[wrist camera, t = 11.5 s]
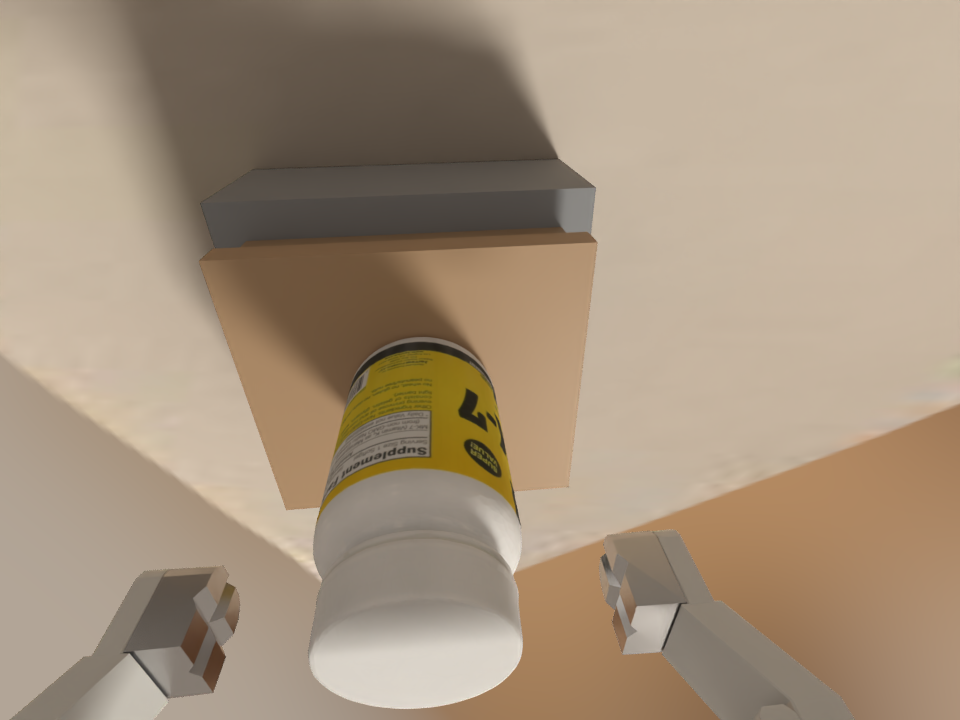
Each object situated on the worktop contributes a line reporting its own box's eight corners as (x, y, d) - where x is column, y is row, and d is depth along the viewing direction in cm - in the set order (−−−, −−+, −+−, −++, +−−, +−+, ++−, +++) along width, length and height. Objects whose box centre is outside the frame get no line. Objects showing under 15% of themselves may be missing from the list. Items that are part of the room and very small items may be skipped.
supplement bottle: (510, 425, 17) (567, 688, 10) (386, 462, 17) (356, 739, 10) (467, 311, 14) (504, 557, 7) (324, 358, 15) (227, 632, 8)
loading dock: (559, 158, 19) (619, 205, 13) (542, 397, 26) (578, 503, 20) (252, 169, 18) (165, 225, 12) (315, 413, 25) (279, 528, 19)
